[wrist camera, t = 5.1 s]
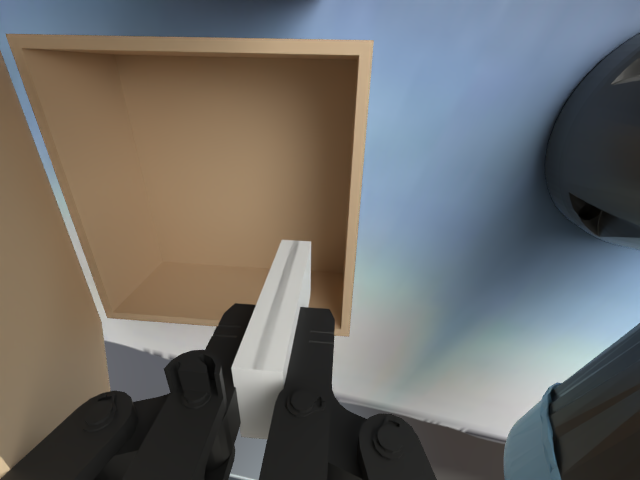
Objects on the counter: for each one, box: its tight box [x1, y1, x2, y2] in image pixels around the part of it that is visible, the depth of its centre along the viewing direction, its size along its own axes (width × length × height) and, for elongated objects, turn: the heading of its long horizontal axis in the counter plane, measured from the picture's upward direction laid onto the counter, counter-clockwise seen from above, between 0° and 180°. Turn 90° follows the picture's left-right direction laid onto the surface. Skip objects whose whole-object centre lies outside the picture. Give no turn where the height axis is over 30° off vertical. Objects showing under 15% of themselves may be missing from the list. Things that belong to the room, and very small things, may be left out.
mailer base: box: [6, 34, 374, 337], centre depth 23 cm, size 18×18×8 cm
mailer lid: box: [0, 51, 110, 479], centre depth 13 cm, size 19×18×1 cm
